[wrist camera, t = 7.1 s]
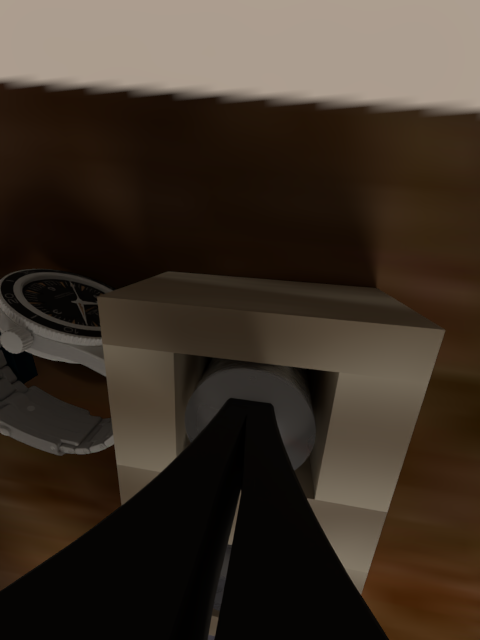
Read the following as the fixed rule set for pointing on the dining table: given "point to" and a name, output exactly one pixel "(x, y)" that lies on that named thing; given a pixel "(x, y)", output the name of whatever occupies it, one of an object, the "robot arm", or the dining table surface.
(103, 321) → the press block
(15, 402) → the watch
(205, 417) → the steel peg
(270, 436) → the robot arm
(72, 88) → the dining table surface
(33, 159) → the dining table surface
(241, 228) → the dining table surface
